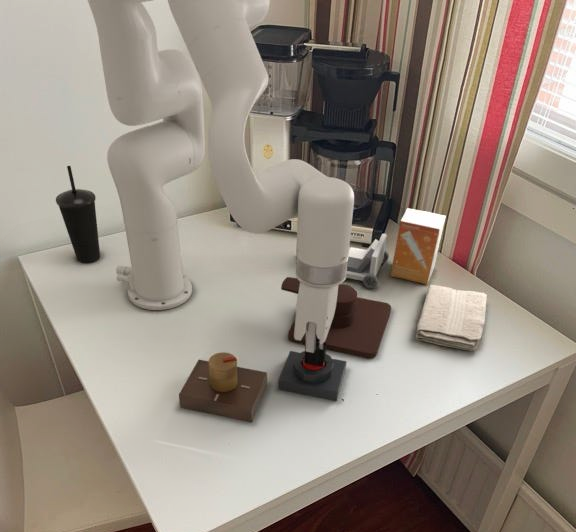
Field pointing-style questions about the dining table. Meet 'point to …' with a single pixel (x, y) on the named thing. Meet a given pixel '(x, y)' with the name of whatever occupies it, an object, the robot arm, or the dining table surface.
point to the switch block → (312, 377)
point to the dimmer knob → (223, 372)
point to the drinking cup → (80, 221)
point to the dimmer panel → (224, 393)
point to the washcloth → (452, 317)
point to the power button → (312, 366)
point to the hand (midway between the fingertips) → (314, 361)
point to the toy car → (367, 262)
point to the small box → (417, 245)
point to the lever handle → (350, 322)
